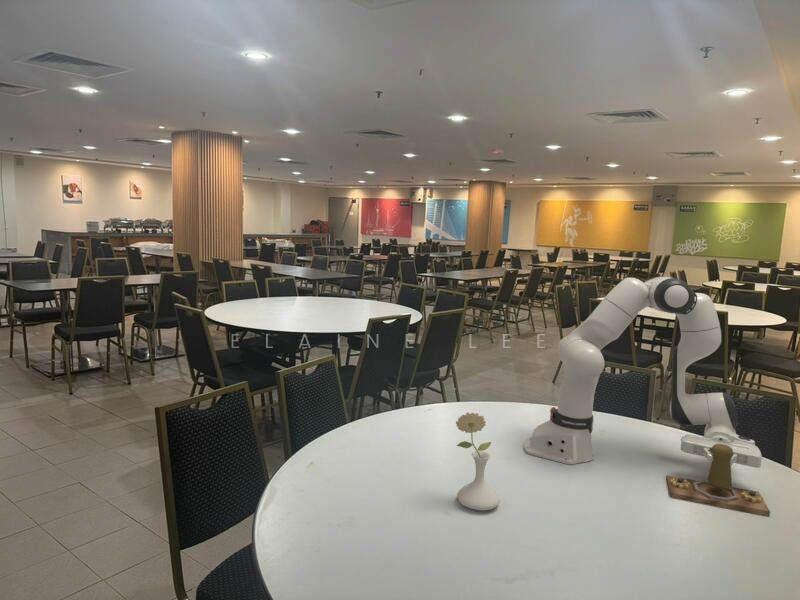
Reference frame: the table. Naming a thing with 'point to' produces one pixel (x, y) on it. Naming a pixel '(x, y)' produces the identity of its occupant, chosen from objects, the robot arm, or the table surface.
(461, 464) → the table surface
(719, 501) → the gear board
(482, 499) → the flower in vase
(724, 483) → the cork
